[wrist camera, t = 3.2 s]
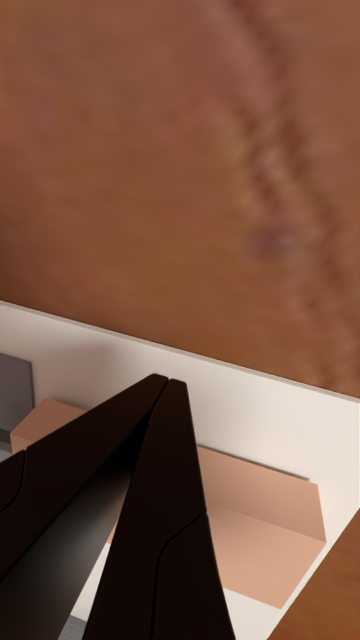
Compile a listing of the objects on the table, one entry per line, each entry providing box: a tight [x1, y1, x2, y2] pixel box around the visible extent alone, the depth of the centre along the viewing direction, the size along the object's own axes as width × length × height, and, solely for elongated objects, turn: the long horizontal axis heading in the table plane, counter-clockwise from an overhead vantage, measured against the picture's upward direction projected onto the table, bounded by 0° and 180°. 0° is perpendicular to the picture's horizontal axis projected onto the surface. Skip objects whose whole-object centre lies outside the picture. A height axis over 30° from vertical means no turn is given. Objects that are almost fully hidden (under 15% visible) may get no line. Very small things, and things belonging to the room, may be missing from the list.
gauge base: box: [0, 300, 360, 640], centre depth 18 cm, size 19×31×3 cm, turn 171°
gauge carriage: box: [0, 398, 327, 609], centre depth 14 cm, size 15×5×2 cm, turn 81°
